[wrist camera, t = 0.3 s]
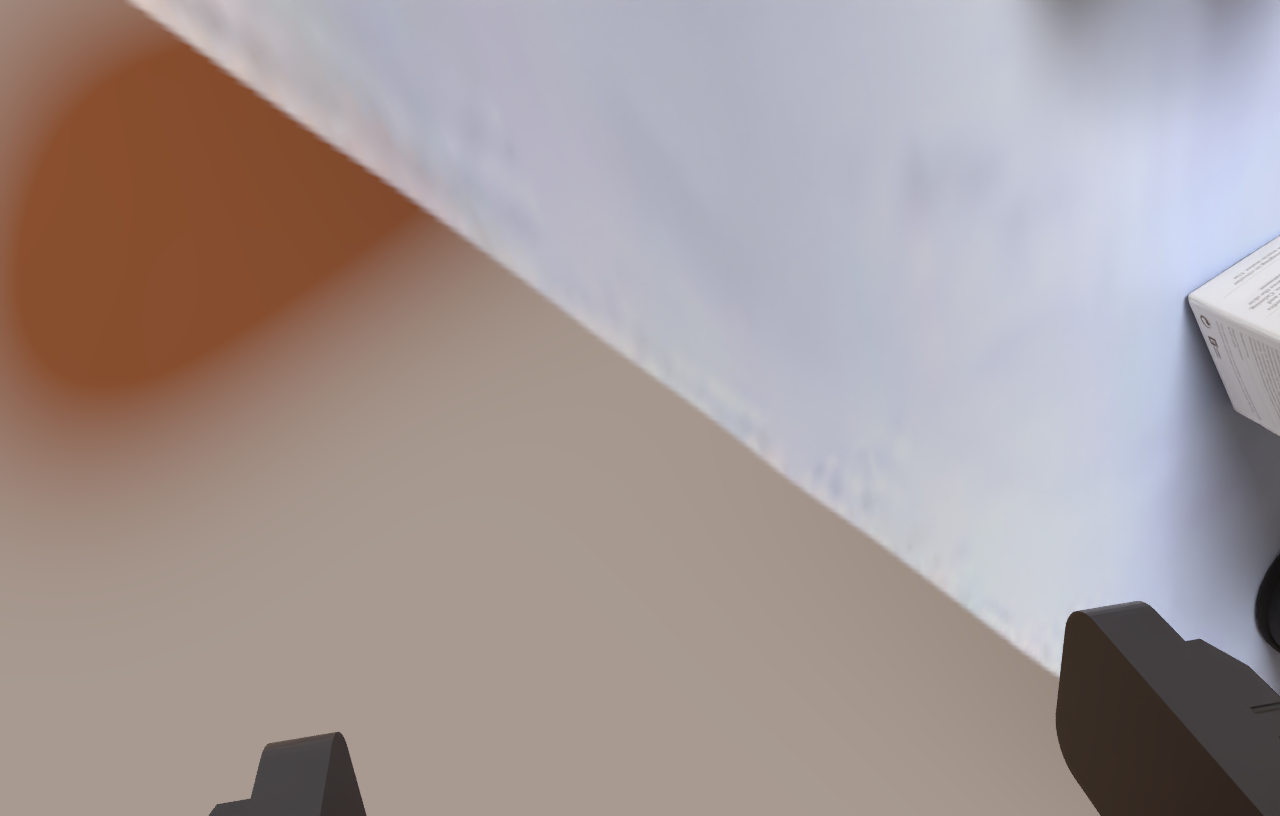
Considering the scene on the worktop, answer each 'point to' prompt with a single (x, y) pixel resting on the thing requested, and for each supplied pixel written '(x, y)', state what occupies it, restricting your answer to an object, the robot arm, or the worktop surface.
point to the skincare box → (1246, 332)
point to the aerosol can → (1270, 606)
